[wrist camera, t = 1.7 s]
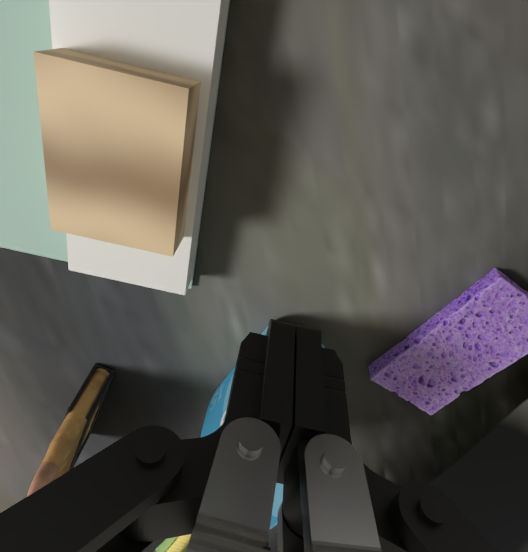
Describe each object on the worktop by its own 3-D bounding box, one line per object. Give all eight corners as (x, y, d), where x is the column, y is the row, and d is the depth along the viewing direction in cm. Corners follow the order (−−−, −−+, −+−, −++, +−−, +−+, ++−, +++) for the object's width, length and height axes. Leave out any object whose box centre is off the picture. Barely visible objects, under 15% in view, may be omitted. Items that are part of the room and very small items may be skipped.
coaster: (62, 47, 20) (33, 51, 18) (200, 81, 20) (188, 88, 18) (72, 211, 25) (51, 229, 23) (183, 236, 25) (172, 256, 23)
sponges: (366, 362, 34) (369, 379, 32) (494, 261, 28) (505, 275, 26) (425, 399, 35) (431, 417, 34) (558, 312, 29) (572, 328, 28)
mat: (-187, -154, 19) (-196, -158, 18) (236, -47, 19) (234, -48, 19) (-76, 226, 29) (-81, 229, 29) (192, 285, 30) (190, 288, 30)
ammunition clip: (95, 362, 36) (13, 496, 26) (115, 369, 36) (42, 505, 26) (73, 427, 41) (-2, 559, 31) (90, 433, 42) (22, 566, 32)
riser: (68, -63, 19) (43, -72, 17) (231, -22, 20) (224, -26, 18) (83, 254, 29) (68, 269, 27) (192, 277, 29) (184, 295, 28)
